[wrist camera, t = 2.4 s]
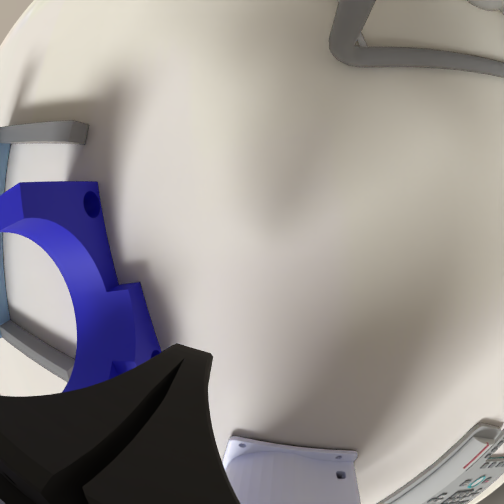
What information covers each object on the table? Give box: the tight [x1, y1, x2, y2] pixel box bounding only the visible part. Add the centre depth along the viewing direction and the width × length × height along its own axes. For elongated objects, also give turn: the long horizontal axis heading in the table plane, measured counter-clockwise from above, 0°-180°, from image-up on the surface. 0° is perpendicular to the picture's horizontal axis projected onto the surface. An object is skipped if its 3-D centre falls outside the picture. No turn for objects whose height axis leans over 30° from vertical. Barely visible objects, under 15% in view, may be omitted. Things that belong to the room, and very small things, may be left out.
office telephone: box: [377, 423, 504, 504], centre depth 15 cm, size 23×3×20 cm
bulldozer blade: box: [0, 121, 89, 382], centre depth 13 cm, size 10×17×5 cm, turn 168°
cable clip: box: [0, 181, 161, 393], centre depth 12 cm, size 12×4×6 cm, turn 10°
